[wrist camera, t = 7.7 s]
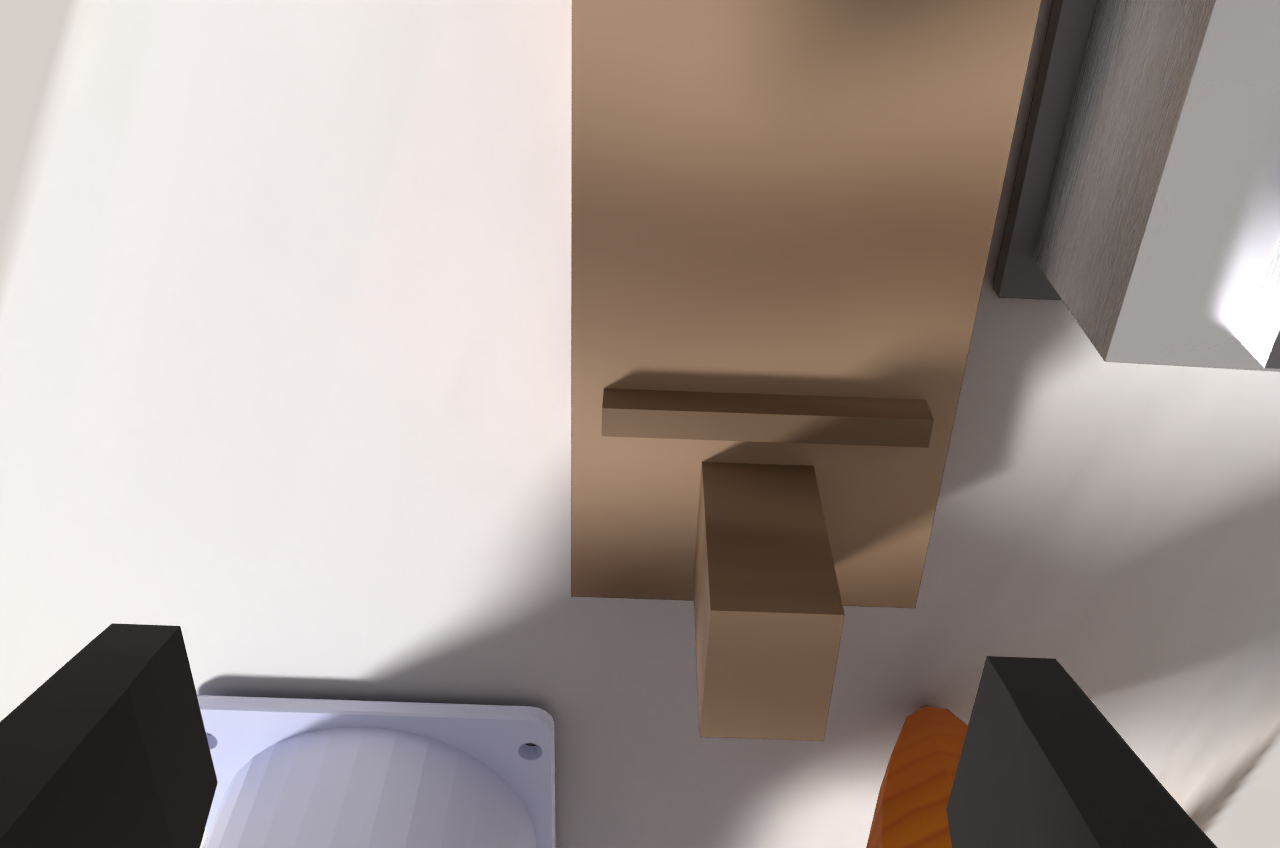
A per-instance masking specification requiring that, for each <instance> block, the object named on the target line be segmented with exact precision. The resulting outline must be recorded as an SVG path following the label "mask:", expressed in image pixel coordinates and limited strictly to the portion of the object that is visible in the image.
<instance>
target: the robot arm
mask: <svg viewBox="0 0 1280 848" xmlns="http://www.w3.org/2000/svg"><path fill="white" fill-rule="evenodd" d="M206 733H210V734H211V735H207V734H206ZM212 735H213V736H212ZM526 743H532V744H536V745H538V746H528V745H525V744H526ZM946 811H947V818H948V825H949V831H950V838H951V844H952V848H1217V847H1216V846H1215V845H1214V843H1213V842H1212V841H1211V840H1210V839H1209V838H1208V837H1207V836H1206V834H1205V833H1204V832H1203V831H1202V830H1201V829H1200V828H1199V827H1198V826H1197V824H1196V823H1195V822H1194V821H1193V820H1192V819H1191V818H1190V817H1189V816H1188V814H1187V813H1186V812H1185V811H1184V810H1183V809H1182V807H1181V806H1180V805H1179V804H1178V803H1177V802H1176V801H1175V799H1174V798H1173V797H1172V796H1171V795H1170V794H1169V793H1168V791H1167V790H1166V789H1165V788H1164V787H1163V786H1162V784H1161V783H1160V782H1159V781H1158V780H1157V779H1156V777H1155V776H1154V775H1153V774H1152V773H1151V772H1150V770H1149V769H1148V768H1147V767H1146V766H1145V764H1144V763H1143V762H1142V761H1141V760H1140V759H1139V757H1138V756H1137V755H1136V754H1135V753H1134V752H1133V750H1132V749H1131V748H1130V747H1129V746H1128V744H1127V743H1126V742H1125V741H1124V740H1123V738H1122V737H1121V736H1120V735H1119V734H1118V733H1117V731H1116V730H1115V729H1114V728H1113V727H1112V725H1111V724H1110V723H1109V722H1108V721H1107V719H1106V718H1105V717H1104V716H1103V715H1102V713H1101V712H1100V711H1099V710H1098V709H1097V707H1096V706H1095V705H1094V704H1093V703H1092V701H1091V700H1090V699H1089V698H1088V697H1087V695H1086V694H1085V693H1084V692H1083V691H1082V690H1081V688H1080V687H1079V686H1078V685H1077V684H1076V682H1075V681H1074V680H1073V679H1072V678H1071V677H1070V675H1069V674H1068V673H1067V672H1066V671H1065V670H1064V668H1063V667H1062V666H1061V665H1060V664H1059V663H1058V662H1057V660H1056V659H1046V658H1019V657H992V656H987V658H986V662H985V665H984V669H983V673H982V677H981V680H980V684H979V688H978V692H977V696H976V699H975V703H974V707H973V711H972V714H971V718H970V722H969V726H968V729H967V733H966V737H965V741H964V744H963V748H962V752H961V756H960V760H959V763H958V767H957V771H956V775H955V778H954V782H953V786H952V790H951V793H950V797H949V801H948V805H947V808H946ZM204 830H206V834H207V838H206V841H205V843H204V846H203V848H556V837H555V729H554V721H553V717H552V716H551V715H550V714H549V713H548V712H547V711H545V710H543V709H541V708H538V707H532V706H505V705H475V704H445V703H415V702H386V701H356V700H326V699H296V698H266V697H236V696H207V695H202V696H197V694H196V690H195V686H194V682H193V678H192V673H191V669H190V665H189V661H188V657H187V653H186V648H185V644H184V640H183V636H182V632H181V628H180V626H163V625H136V624H111V625H110V626H109V627H108V628H106V629H105V630H104V631H103V632H102V633H101V634H99V635H98V636H97V637H96V638H95V639H94V640H92V641H91V642H90V643H89V644H88V645H87V646H86V647H84V648H83V649H82V650H81V651H80V652H79V653H78V654H76V655H75V656H74V657H73V658H72V659H71V660H70V661H69V662H67V663H66V664H65V665H64V666H63V667H62V668H61V669H59V670H58V671H57V672H56V673H55V674H54V675H53V676H52V677H50V678H49V679H48V680H47V681H46V682H45V683H44V684H43V685H41V686H40V687H39V688H38V689H37V690H36V691H35V692H34V693H32V694H31V695H30V696H29V697H28V698H27V699H26V700H25V701H23V702H22V703H21V704H20V705H19V706H18V707H17V708H16V709H14V710H13V711H12V712H11V713H10V714H9V715H8V716H7V717H5V718H4V719H3V720H2V721H1V722H0V848H200V845H201V841H202V838H203V834H204Z"/></svg>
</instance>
